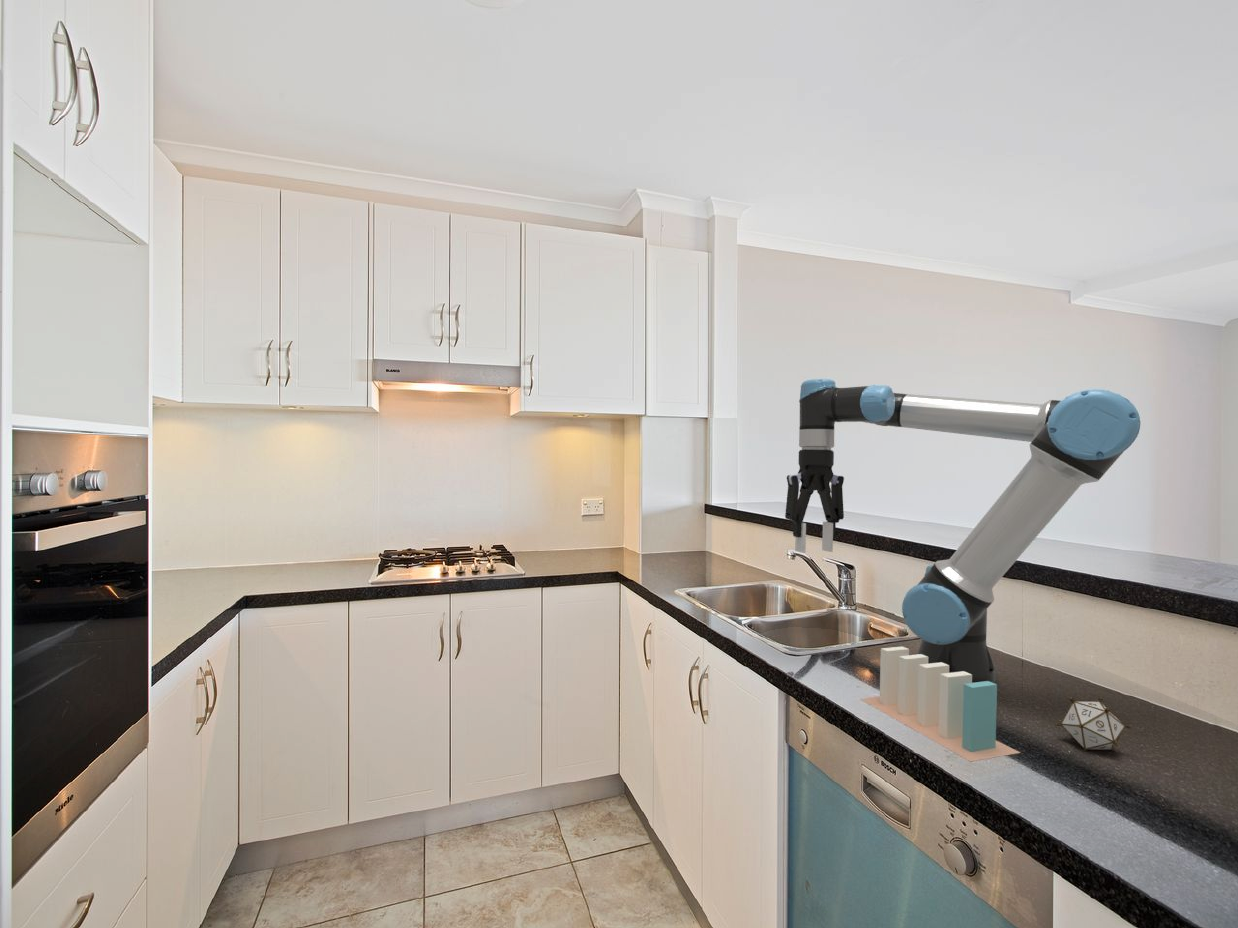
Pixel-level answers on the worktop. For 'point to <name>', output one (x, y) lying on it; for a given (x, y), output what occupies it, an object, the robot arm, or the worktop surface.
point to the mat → (933, 734)
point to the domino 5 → (979, 716)
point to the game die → (1092, 725)
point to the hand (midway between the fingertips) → (813, 551)
